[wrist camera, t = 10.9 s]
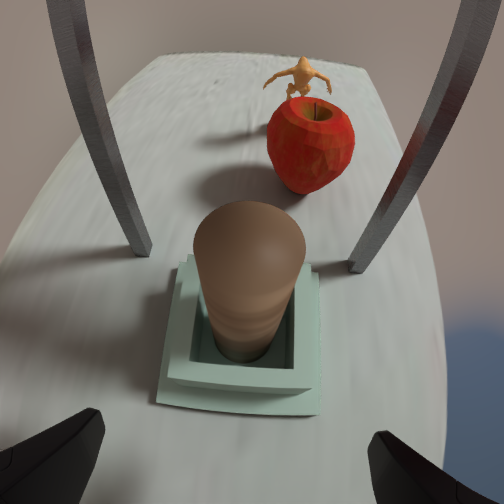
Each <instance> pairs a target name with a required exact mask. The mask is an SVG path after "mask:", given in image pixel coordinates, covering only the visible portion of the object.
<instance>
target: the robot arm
mask: <svg viewBox="0 0 504 504" xmlns="http://www.w3.org/2000/svg"><path fill="white" fill-rule="evenodd" d="M104 434H105V425H104V421H103V418H102V415H101V412H100V411H99V410H97V409H93V408H86V409H84V410H83V411H81V412H79V413H77V414H75V415H73V416H71V417H70V418H68V419H66V420H64V421H62V422H60V423H58V424H56V425H54V426H52V427H50V428H49V429H47V430H45V431H43V432H41V433H39V434H37V435H35V436H33V437H31V438H29V439H27V440H25V441H23V442H20V443H18V444H16V445H14V446H13V447H10V448H8V449H6V450H3V451H1V452H0V504H79V502H80V500H81V497H82V495H83V492H84V490H85V488H86V485H87V483H88V481H89V478H90V476H91V474H92V472H93V469H94V467H95V464H96V460H97V457H98V454H99V450H100V447H101V444H102V440H103V437H104ZM368 459H369V466H370V472H371V480H372V486H373V491H374V495H375V499H376V502H377V504H499V503H497V502H494V501H493V500H490V499H488V498H486V497H484V496H482V495H480V494H478V493H477V492H475V491H473V490H471V489H470V488H468V487H466V486H465V485H463V484H462V483H460V482H459V481H456V479H454V478H453V477H451V476H450V475H448V474H447V473H446V472H444V471H443V470H441V469H440V468H438V467H437V466H436V465H434V464H433V463H431V462H430V461H428V460H427V459H426V458H424V457H423V456H422V455H420V454H419V453H417V452H416V451H415V450H413V449H412V448H411V447H409V446H408V445H406V444H405V443H404V442H402V441H401V440H400V439H398V438H397V437H396V436H394V435H393V434H392V433H391V432H389V431H387V430H385V431H378V432H376V433H375V434H374V436H373V438H372V440H371V442H370V444H369V446H368Z"/></svg>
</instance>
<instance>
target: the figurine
mask: <svg viewBox="0 0 504 504" xmlns="http://www.w3.org/2000/svg"><path fill="white" fill-rule="evenodd" d="M290 74H293V77H294V81H295V84H294V85H293V84H292V83H289V84H288V89H287V90H286V93H287V100H289V99H292V97H291V96H290V94H294V93H295V91H296V90H297V91H299V92H300V94H301V97H304V95H306V94H308V92H309V91H310V89H311V86H310V85H309V84H308V82H309V81H310V80H311V79H312V77H314V76H315V77H318V78H320V79H322V80H324V81H326V84H327V87H328V88H327V89H328V92H329V93H330V95H331V92H332V89H331V85H330V80H329V78H327V77H326V76H324V75H323V74H320V73H319V72H318V71H316V70H315V69H313V68H312V67H311V66H310V65H309V63H308V60H307V58H306V57H304V56H303V57H301V58H300V59H299V62H298V64H297V65H296V66H295V67H293V68H290V69H288V70H285V71H281V72H278V73H276V74H274V76H273V77H272V78H270V79H269V80H268V81H267V82H266V83H265V85H264V87H263V90H264V88H265V87H266V85H267V84H269V83H271V82H273V81H274V80H275V79H276V78H277V77H281V76H286V75H290Z"/></svg>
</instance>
